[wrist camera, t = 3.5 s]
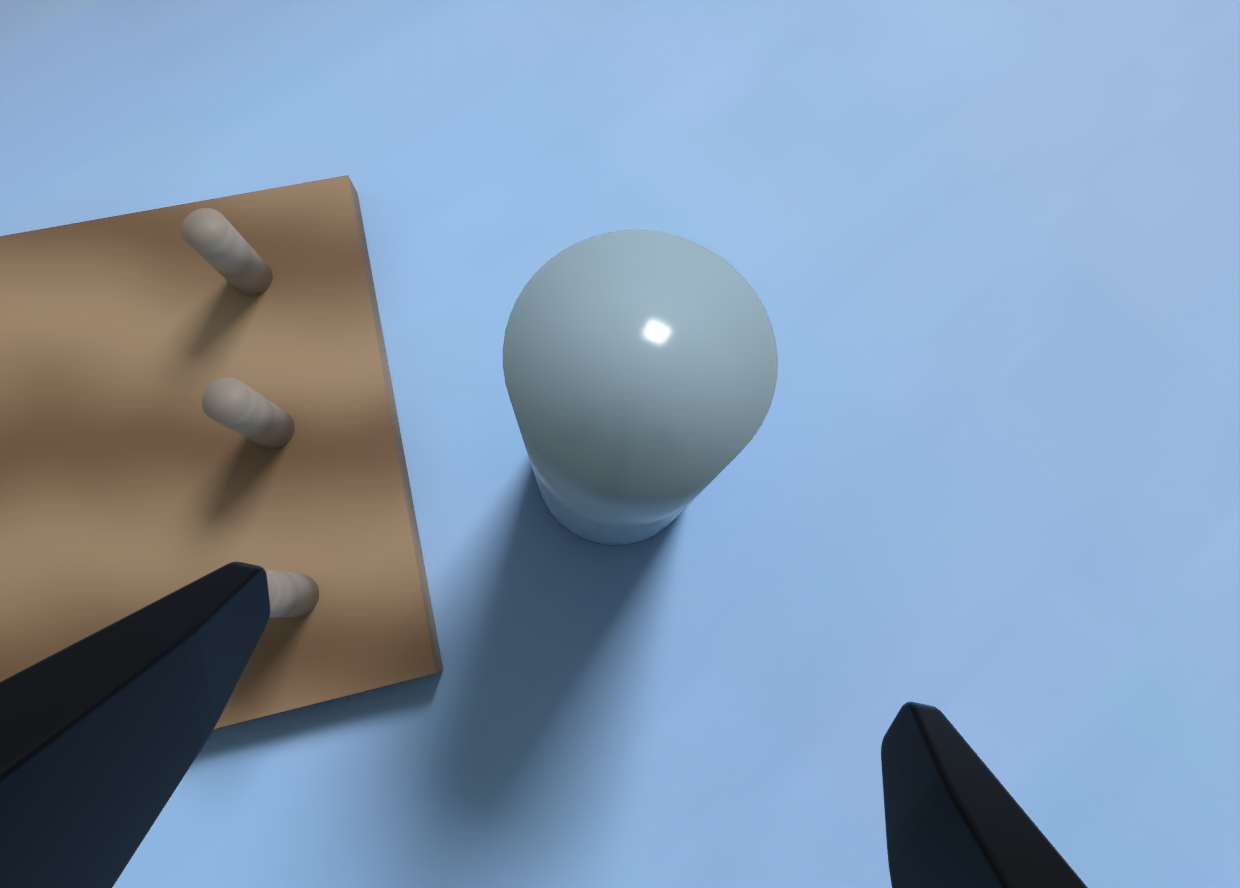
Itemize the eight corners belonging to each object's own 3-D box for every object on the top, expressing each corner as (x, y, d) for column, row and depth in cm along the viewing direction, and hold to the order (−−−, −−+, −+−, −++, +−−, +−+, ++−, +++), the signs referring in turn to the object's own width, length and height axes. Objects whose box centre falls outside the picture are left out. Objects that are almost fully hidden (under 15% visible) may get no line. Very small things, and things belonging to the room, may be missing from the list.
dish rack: (442, 670, 21) (411, 683, 17) (-149, 818, 19) (-332, 870, 15) (357, 192, 24) (315, 113, 21) (-153, 283, 23) (-304, 215, 19)
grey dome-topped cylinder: (721, 441, 23) (825, 315, 13) (642, 576, 22) (691, 545, 12) (590, 362, 24) (597, 184, 14) (505, 490, 22) (447, 395, 13)
